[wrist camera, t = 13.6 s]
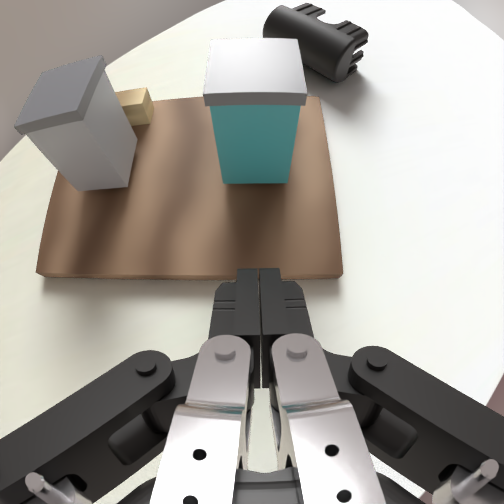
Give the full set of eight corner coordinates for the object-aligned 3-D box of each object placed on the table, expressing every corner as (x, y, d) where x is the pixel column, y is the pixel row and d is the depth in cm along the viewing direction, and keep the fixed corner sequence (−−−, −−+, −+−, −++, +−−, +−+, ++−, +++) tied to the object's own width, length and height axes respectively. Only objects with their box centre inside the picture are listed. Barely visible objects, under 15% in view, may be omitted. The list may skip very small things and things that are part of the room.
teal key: (220, 186, 24) (202, 93, 15) (223, 132, 26) (211, 39, 17) (290, 185, 24) (307, 93, 15) (286, 132, 26) (297, 39, 16)
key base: (44, 276, 25) (15, 263, 21) (83, 121, 30) (67, 96, 26) (338, 278, 25) (354, 262, 20) (316, 106, 30) (323, 75, 26)
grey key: (75, 193, 25) (13, 126, 15) (89, 144, 26) (42, 72, 17) (129, 189, 24) (76, 109, 15) (139, 137, 26) (102, 54, 17)
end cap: (261, 56, 33) (261, 12, 27) (297, 36, 35) (301, -4, 28) (329, 95, 31) (340, 48, 24) (361, 71, 32) (374, 29, 26)
